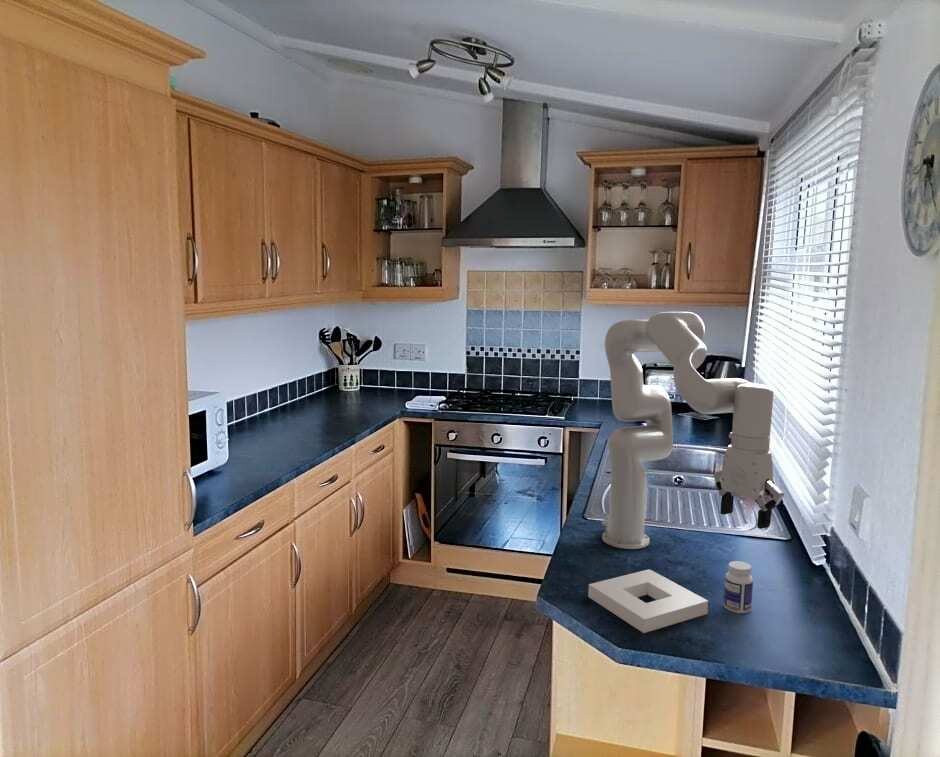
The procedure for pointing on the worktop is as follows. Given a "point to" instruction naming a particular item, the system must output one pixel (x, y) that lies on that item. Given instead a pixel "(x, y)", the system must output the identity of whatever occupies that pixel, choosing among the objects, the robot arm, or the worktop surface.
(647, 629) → the socket block
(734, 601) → the pill bottle
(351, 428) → the worktop surface
